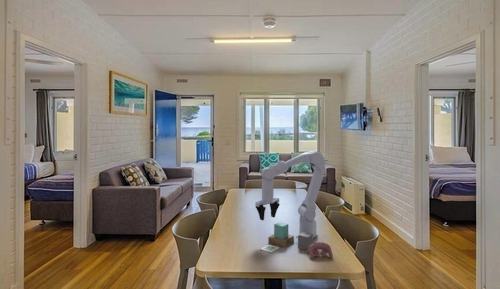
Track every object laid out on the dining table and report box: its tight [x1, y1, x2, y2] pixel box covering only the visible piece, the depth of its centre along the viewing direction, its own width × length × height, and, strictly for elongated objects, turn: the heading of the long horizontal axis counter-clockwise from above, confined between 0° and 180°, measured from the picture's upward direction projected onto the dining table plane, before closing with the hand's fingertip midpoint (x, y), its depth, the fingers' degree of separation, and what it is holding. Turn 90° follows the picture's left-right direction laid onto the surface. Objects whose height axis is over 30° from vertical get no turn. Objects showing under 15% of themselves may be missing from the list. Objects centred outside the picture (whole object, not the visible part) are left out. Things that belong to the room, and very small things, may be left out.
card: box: [259, 243, 280, 253], centre depth 143 cm, size 7×6×1 cm
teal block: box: [273, 221, 289, 239], centre depth 150 cm, size 5×5×6 cm
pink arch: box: [308, 241, 334, 260], centre depth 134 cm, size 10×5×7 cm, turn 93°
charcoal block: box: [297, 232, 314, 251], centre depth 145 cm, size 5×5×6 cm
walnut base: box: [267, 233, 295, 248], centre depth 151 cm, size 9×9×3 cm
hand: (267, 218), depth 155 cm, fingers open, 7 cm apart
